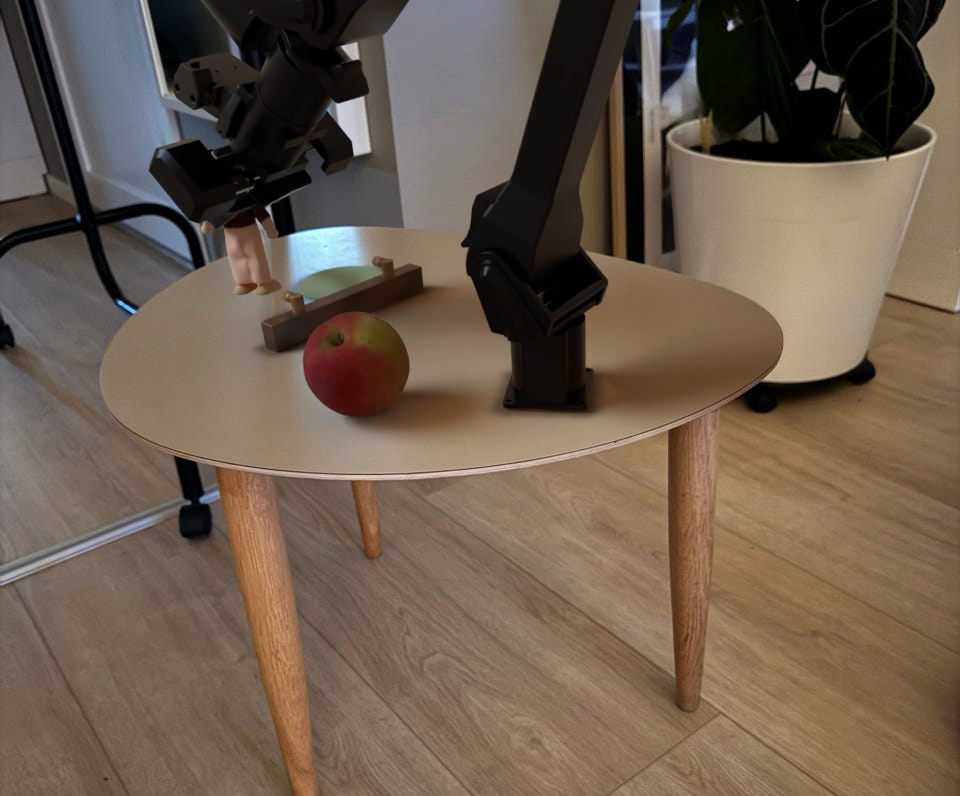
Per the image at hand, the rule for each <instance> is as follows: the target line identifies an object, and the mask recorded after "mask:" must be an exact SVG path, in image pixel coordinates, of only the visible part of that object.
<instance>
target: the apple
mask: <svg viewBox="0 0 960 796" xmlns="http://www.w3.org/2000/svg"><path fill="white" fill-rule="evenodd" d="M410 365H411V363H410V355H409V353H408V350H407V347H406V345H405V343H404V340H403V339H402V337H401V336H400V334H399V332H398V331H397V330H396V329H395V328H394V326H393V325H391V324H390V323H389V322H387V321H386V320H385V319H383V318H381V317H379V316H377V315H374V314H372V313H366V312H347V313H342V314H338V315H336V316H334V317H332V318H331V319H329V320H327V321H326V322H324V323H323V324H321V325H320V326H318V327H317V328H316V329H315V330H314V331H313V333H312V334H311V335H310V337H309V339H307V340H306V343H305V347H304V350H303V354H302V368H303V375H304V380H305V382H306V385H307V386H308V389H309V390H310V392H312V394H313V395H314V397H316V399H317V400H318V401H319V402H320V403H321V404H322V405H324V406H325V407H326V408H328V409H330V410H331V411H333V412H335V413H337V414H339V415H342V416H345V417H350V418H364V417H370V416H374V415H376V414H379V413H381V412H382V411H383V410H385V409H386V408H388V406H390V404H392V403H393V402H394V401H395V400H396V399H397V398H398V397H399V396H400V395H401V394H402V392H403V391H404V389H405V387H406V385H407V383H408V380H409V376H410V371H411V366H410Z"/></svg>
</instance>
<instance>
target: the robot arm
mask: <svg viewBox="0 0 960 796" xmlns="http://www.w3.org/2000/svg"><path fill="white" fill-rule="evenodd" d="M200 2H201V3H202V5H204V6H205V8H206V9H207V10H208V11H209V12H210V14H211V15H212V17H214V19H215V20H216V21H217V23H218V24H219V26H220V27H222V29H223V30H224V31H225V33H226V34H227V35H228V36H229V37H230V39H231V40H232V42H234V44H235V45H236V46H237V47H238V49H240V50H241V51H242V52H245V53H254V52H259V53H261V54H268V55H267V57H266V59H265V61H264V64H263V66H262V67H261V70H260V72H259V71H258V70H256V69H255V68H253V67H252V66H250V65H249V64H247V63H246V62H245V61H243V60H242V59H240V58H238V57H237V56H235V55H233V54H231V53H227V52H218V53H214V54H213V53H212V54H208V55H204V56H200V57H195V58H191V59H189V61H186V62H182V63H180V65H179V67H178V69H177V70H176V72H175V73H174V76H173V84H172V85H173V86H172V87H173V88H172V90H173V91H172V92H173V94H174V97H175V98H176V100H178V101H179V102H181V103H182V104H184V105H185V106H187V107H188V109H189V108H190V109H191V110H192V111H197V110H203V111H204V112H206V113H207V114H209V115H211V116H212V117H213V118H215V119H217V121H216V122H215V125H214V127H213V128H214V130H215V131H216V132H217V134H218V135H219V136H220V137H221V139H223V140H229V142H230V143H229V144H228V145H224V146H221V147H217V148H215V149H213V148H209V149H208V147H206V145H205V144H204V142H202V140H201V139H197V138H186V139H182V140H178V141H175V142H172V143H169V144H165V145H161V146H158V147H156V148H155V149H154V152H153V154H152V157H151V159H150V162H149V166H148V172H149V173H150V175H151V176H152V177H153V178H154V180H155V181H156V182H157V183H158V185H159V186H160V187H161V188H162V189H163V191H164V192H165V193H166V195H168V197H169V199H170V200H171V201H172V202H173V203H174V204H175V206H176V207H177V208H178V209H179V210H180V212H181V213H182V214H183V216H184V217H185V218H186V219H187V220H188V221H189V222H192V223H195V224H198V225H199V224H203V222H205V221H207V220H209V221H210V223H211V224H212V225H213V226H212V228H214V229H215V230H219V229H221V228H224V227H223V226H224V225H226V224H227V223H229V222H230V221H232V220H234V219H235V218H237V217H238V216H240V215H241V214H243V213H244V212H246V211H247V210H249V209H250V208H252V207H253V206H255V205H256V204H257V203H256V202H255V200H254V199H253V198H252V197H251V195H252V196H254V197H256V198H257V199H258V200H259V201H260V202H261V204H262V205H263V206H264V207H265V209H267V207H269V206H271V205H273V204H275V203H277V202H279V201H281V200H282V199H284V198H286V197H289V196H291V195H292V194H294V193H296V192H299V191H300V190H302V189H304V188H306V187H309V186H310V185H311V184H312V183H313V179H312V177H311V175H310V174H309V173H308V172H307V171H306V168H307V167H308V164H309V163H310V160H309V159H308V158H307V155H308V154H307V152H309V151H312V150H315V151H316V152H317V153H318V155H319V156H320V158H322V160H323V162H322V164H321V166H320V170H321V171H322V172H323V173H324V175H325V176H326V177H328V176H331V175H334V174H336V173H339V172H342V171H344V170H346V169H347V168H348V166H349V165H350V163H351V162H352V160H353V159H354V157H355V153H354V147H353V141H352V139H351V138H350V137H349V136H348V134H347V133H346V131H345V130H343V128H342V127H341V125H339V123H338V122H337V121H336V120H335V119H334V117H333V116H332V115H331V113H330V111H328V109H329V107H330V106H331V104H332V103H333V102H334V103H335V104H337V105H339V104H343V103H346V102H349V101H352V100H357V99H359V98H360V99H361V98H363V97H366V96H368V95H369V94H370V87H369V83H368V79H367V77H366V75H365V74H364V72H363V62H362V60H361V59H359V58H357V59H356V58H355V59H352V58H351V57H350V55H349V54H348V53H347V52H346V50H345V49H344V48H343V46H347V45H351V44H355V43H360V42H364V41H368V40H372V39H377V38H380V37H382V36H384V35H385V34H387V33H388V31H389V30H390V29H391V28H392V27H393V25H394V24H395V22H396V21H397V19H398V18H399V16H400V15H401V13H402V12H403V11H404V9H405V8H406V6H407V5H408V4H409V2H410V0H200ZM640 3H641V0H558V5H557V8H556V12H555V16H554V19H553V23H552V26H551V29H550V33H549V34H550V35H549V37H548V42H547V45H546V48H545V51H544V56H543V59H542V64H541V66H540V69H539V70H540V71H539V74H538V78H537V81H536V86H535V89H534V94H533V96H532V100H531V104H530V107H529V112H528V114H527V119H526V122H525V126H524V128H523V132H522V133H523V134H522V137H521V140H520V144H519V148H518V152H517V155H516V158H515V163H514V166H513V170H512V173H511V175H510V178H509V179H508V180H505V181H504V182H501V183H499V184H496V185H495V186H493V187H490V188H489V189H486V190H484V191H482V192H480V193H477V194H476V195H475V197H474V200H473V203H472V205H471V213H470V224H469V228H468V231H467V233H466V236H465V237H464V239H463V240H462V241H461V242H460V247H461V248H463V249H466V248H467V251H466V255H465V263H464V265H465V272H466V275H467V276H468V277H469V278H470V279H471V282H472V284H473V287H474V290H475V292H476V294H477V298H478V300H479V304H480V307H481V308H482V311H483V314H484V317H485V319H486V322H487V325H488V327H489V330H490V332H491V333H492V334H496V335H501V336H504V338H506V339H507V342H510V358H511V359H510V360H511V375H510V377H509V381H508V383H507V386H506V389H505V392H504V396H503V399H502V407H503V408H504V409H508V410H510V409H511V410H514V409H515V410H539V411H541V410H545V411H546V410H548V411H579V412H580V411H585V410H586V411H587V410H588V409H589V405H590V399H591V393H592V387H593V382H594V377H595V376H594V375H595V370H594V369H593V368H592V367H587V350H586V348H587V345H586V343H587V341H586V340H587V339H586V335H587V334H586V333H587V331H586V327H587V326H586V323H587V322H586V321H587V320H586V313H587V312H588V311H590V310H591V309H593V308H594V307H598V306H599V305H600V304H602V302H603V300H604V297H605V294H606V291H607V289H608V287H609V279H608V278H607V276H606V275H605V274H604V273H603V271H601V269H600V268H599V267H598V265H597V264H596V263H595V262H594V261H593V259H592V258H591V257H590V255H589V254H588V253H587V252H586V251H585V249H584V248H583V247H582V246H581V241H582V235H583V228H584V222H585V221H584V220H585V218H584V213H583V207H582V200H581V195H580V194H581V193H580V187H581V182H582V178H583V176H584V173H585V170H586V166H587V163H588V161H589V157H590V155H591V151H592V149H593V145H594V143H595V139H596V137H597V133H598V130H599V127H600V124H601V120H602V118H603V115H604V112H605V108H606V107H607V102H608V99H609V96H610V93H611V91H612V88H613V84H614V81H615V78H616V76H617V72H618V68H619V66H620V63H621V60H622V57H623V53H624V50H625V48H626V44H627V41H628V40H629V39H628V38H629V35H630V32H631V29H632V26H633V24H634V20H635V18H636V14H637V11H638V9H639V5H640Z"/></svg>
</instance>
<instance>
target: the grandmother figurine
mask: <svg viewBox="0 0 960 796" xmlns="http://www.w3.org/2000/svg"><path fill="white" fill-rule="evenodd" d="M251 197H252V198H253V199H254V200H255V202H256V203H257V204H256V205H255V206H253V207H252V208H250V209H249V210H247V211H246V212H244V213H243V214H241V215H240V216H238V217H237V218H235V219H234V220H232V221H230V222H229V223H227V224H226V225H224V226H223V227H222V228H223V232H224V239H225V240H224V241H225V247H226V252H227V258H228V262H229V265H230V269H231V273H232V276H233V281H234V283H235V284H236V286H235V287H234V290H233V294H234V295H236V296H244V295H248V294H250V293H252V292H253V291H254V294H255V295H256V296H267V295H270V294H274V293H275V292H278V291H280V290H281V289H282V288H283V287H282V284H281V283H280V282H279V281H278V280H276V279H273V278H272V275H271V271H270V265H269V263H268V259H267V255H266V251H265V246H264V241H263V238H262V237H263V236H262V233H261V231H260V229H259V226H258V223H259V224H260V225H261V227H262V228H263V230H264V232H266V236H267V238H268V239H270V240H276V239H277V238H278V237H279V231H278V230H277V228H275V223H274V221H273V219H272V216H271V214H270V212H269V211H268V210H267V208H265V207H264V206H263V205H262V204H261V202H260V201H259V200H258V199H257V198H256V197H254V196H252V195H251ZM257 222H258V223H257ZM200 231H201V232H202V234H203V235H205V236H209V235H211V234H212V233H213V225H212V224H211V223H210V221H209V220H207V221H205V222H202V225H201V227H200Z"/></svg>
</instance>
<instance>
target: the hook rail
mask: <svg viewBox="0 0 960 796" xmlns="http://www.w3.org/2000/svg"><path fill="white" fill-rule="evenodd" d="M371 264H372V266H374V267H370V266H364V265H349V266H338V267H333V268H328V269H324V270H320V271H317V272H315V273H312V274H309V275H308V276H307V277H305V278H303V279H302V280H301V281H300V283H299V285H298V288H299V292H295V291H291V290H288V289H286V290H284V291H282V292H281V294H280V297H281V300H283V301H284V302H286V303H289V304H290V307H291V309H289V310H287V311H284V312H282V313H280V314H277V315H275V316H273V317H269V318H267V319H265V320H262V321H260V325H261V330H262V335H263V340H264V345H265V348H267V349H269V350H271V351H274V352H276V353H279V352H281V351H283V350H286V349H288V348H291V347H293V346H295V345H297V344H300V343H303V342H305V341H308V339H309V337H310V335H311V334H312V333H313V331H314V330H315V329H316V328H317V327H318V326H320V325H321V324H323V323H324V322H326V321H327V320H329V319H331V318H332V317H334V316H336V315H338V314H342V313H347V312H366V313H370V314H372V313H373V312H375V311H376V312H377V311H378V310H381V309H383V308H385V307H388V306H391V305H393V304H395V303H397V302H400V301H401V300H404V299H407V298H410V297H411V296H414V295H416V294H419V293H420V292H424V290H425V288H424V278H423V276H424V275H423V268H422V266H421V265H418V264H413V263H410V262H409V263H406V264H403V265H402V266H399V267H397V268H395V265H394V260H393V258H385V257H381V256H378V255H376V256H374V257H372V259H371ZM378 268H379V269H378ZM380 269H381V270H380ZM304 297H307V298H309V299H313V301H310V302H308V303H305V298H304Z"/></svg>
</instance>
